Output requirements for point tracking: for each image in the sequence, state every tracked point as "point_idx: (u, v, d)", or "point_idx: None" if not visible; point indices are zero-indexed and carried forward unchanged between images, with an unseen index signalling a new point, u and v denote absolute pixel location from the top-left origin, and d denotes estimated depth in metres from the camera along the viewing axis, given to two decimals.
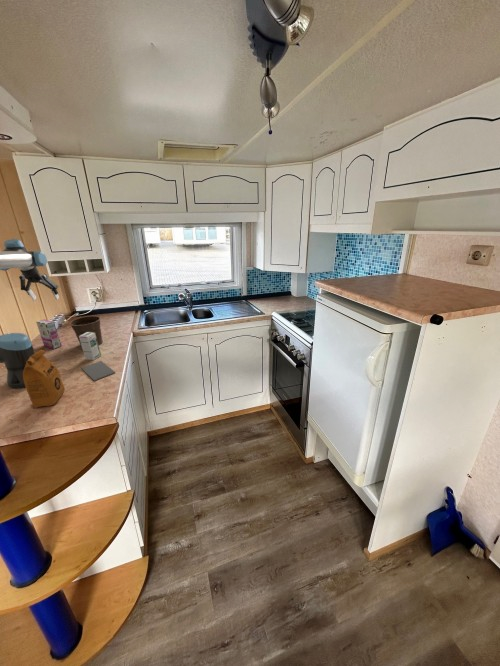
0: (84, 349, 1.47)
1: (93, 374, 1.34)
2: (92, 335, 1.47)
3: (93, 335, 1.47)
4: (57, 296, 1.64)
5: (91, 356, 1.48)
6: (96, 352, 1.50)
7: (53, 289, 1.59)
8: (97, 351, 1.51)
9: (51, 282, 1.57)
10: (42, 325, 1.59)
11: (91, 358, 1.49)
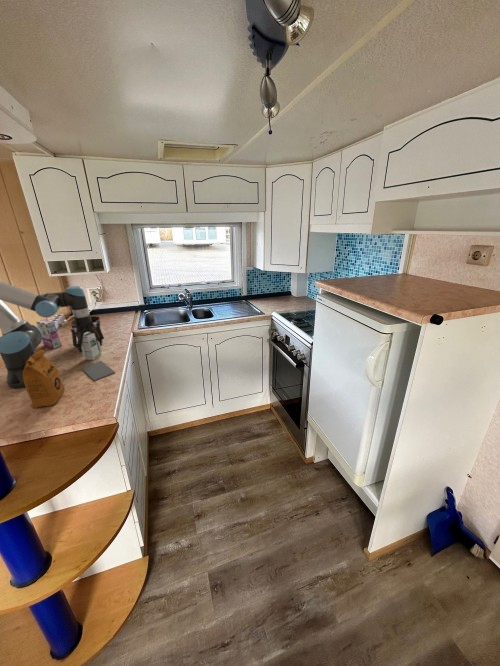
0: (84, 349, 1.47)
1: (93, 374, 1.34)
2: (92, 335, 1.47)
3: (93, 335, 1.47)
4: (83, 354, 1.47)
5: (91, 356, 1.48)
6: (96, 352, 1.50)
7: None
8: (97, 351, 1.51)
9: (73, 339, 1.42)
10: (42, 325, 1.59)
11: (91, 358, 1.49)
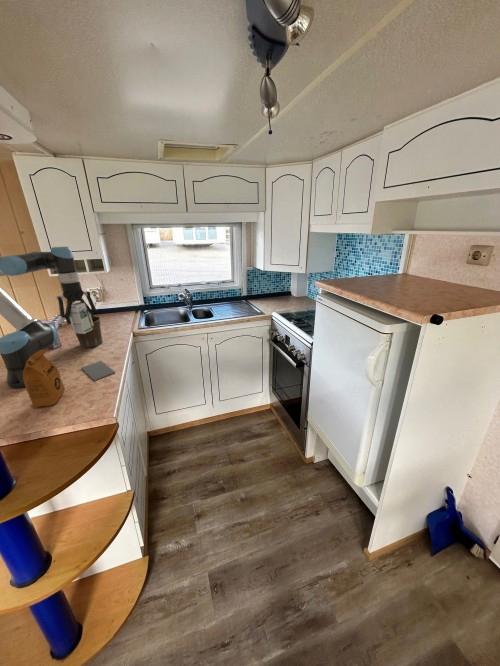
0: (73, 321, 1.29)
1: (93, 374, 1.34)
2: (82, 305, 1.29)
3: (83, 305, 1.29)
4: (71, 327, 1.29)
5: (81, 329, 1.30)
6: (87, 325, 1.32)
7: None
8: (88, 324, 1.33)
9: (59, 308, 1.24)
10: None
11: (81, 332, 1.31)
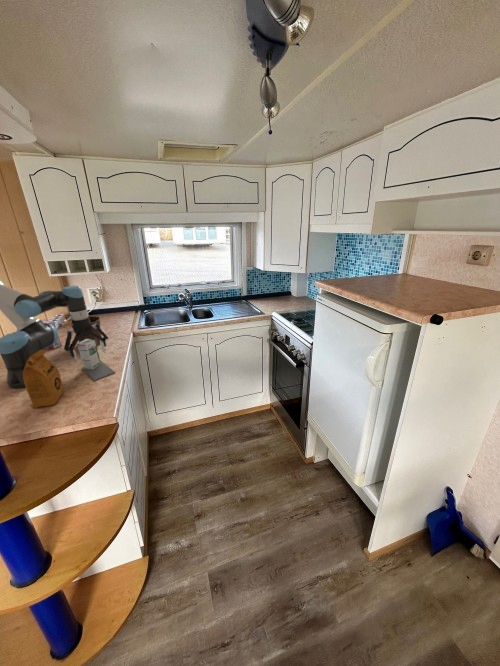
0: (83, 357, 1.37)
1: (93, 374, 1.34)
2: (91, 343, 1.36)
3: (92, 342, 1.37)
4: (75, 359, 1.34)
5: (90, 365, 1.37)
6: (96, 361, 1.40)
7: None
8: (97, 360, 1.40)
9: (66, 341, 1.29)
10: None
11: (90, 367, 1.38)
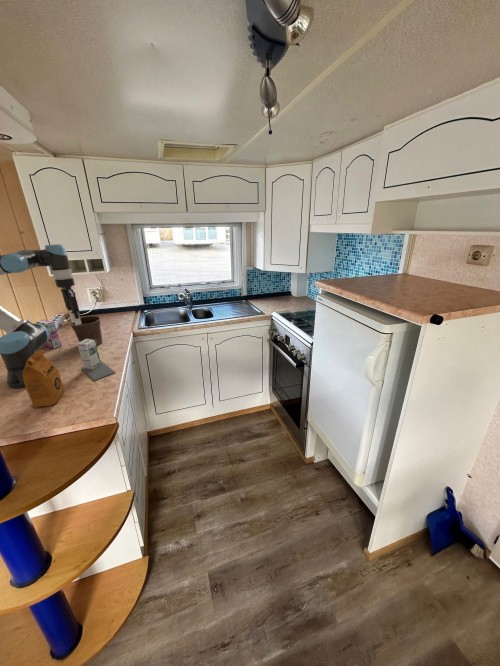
0: (83, 357, 1.37)
1: (93, 374, 1.34)
2: (91, 343, 1.36)
3: (92, 343, 1.37)
4: (78, 321, 1.36)
5: (90, 365, 1.37)
6: (96, 361, 1.40)
7: (72, 312, 1.32)
8: (97, 360, 1.40)
9: (74, 303, 1.30)
10: None
11: (90, 367, 1.38)
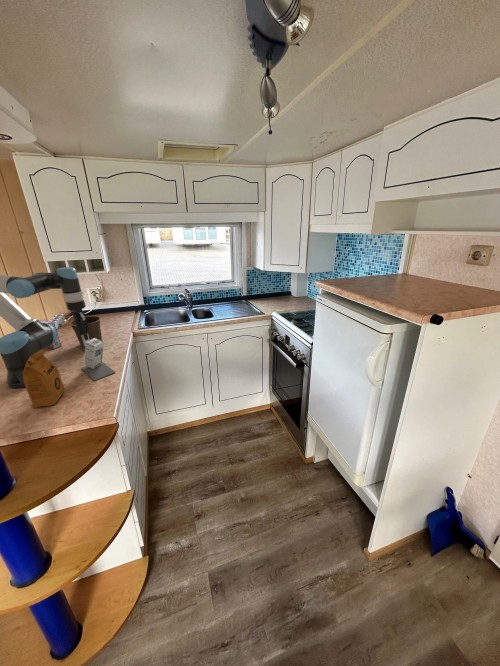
0: (86, 356, 1.36)
1: (93, 374, 1.34)
2: (100, 344, 1.35)
3: (101, 344, 1.36)
4: None
5: (91, 365, 1.37)
6: (98, 361, 1.39)
7: (82, 334, 1.33)
8: (99, 360, 1.40)
9: (84, 326, 1.30)
10: None
11: (90, 366, 1.38)
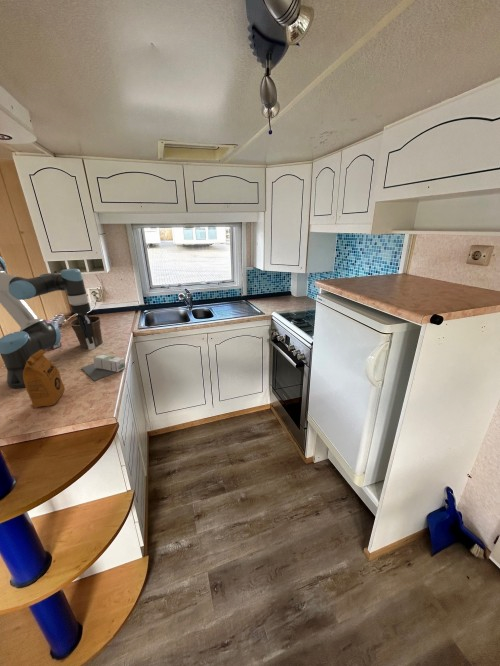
0: (103, 361, 1.35)
1: (93, 374, 1.34)
2: None
3: None
4: (92, 346, 1.32)
5: (97, 366, 1.37)
6: None
7: (86, 337, 1.29)
8: None
9: (89, 330, 1.26)
10: None
11: (95, 365, 1.37)
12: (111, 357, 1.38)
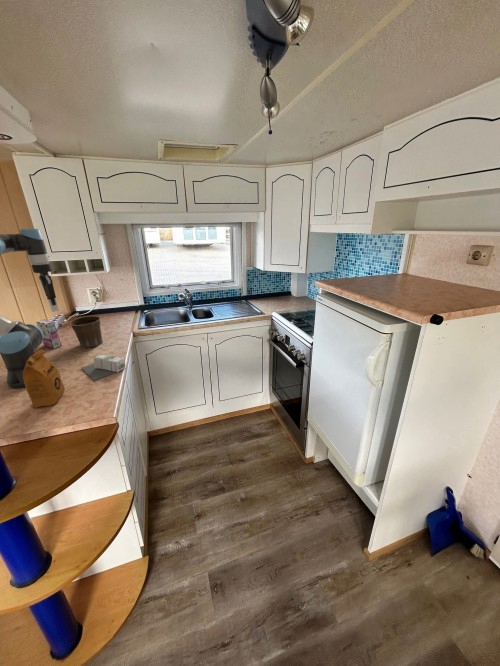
0: (103, 361, 1.35)
1: (93, 374, 1.34)
2: None
3: None
4: (55, 308, 1.35)
5: (97, 366, 1.37)
6: None
7: (48, 298, 1.31)
8: None
9: (50, 290, 1.29)
10: (42, 325, 1.59)
11: (95, 365, 1.37)
12: (111, 357, 1.38)
